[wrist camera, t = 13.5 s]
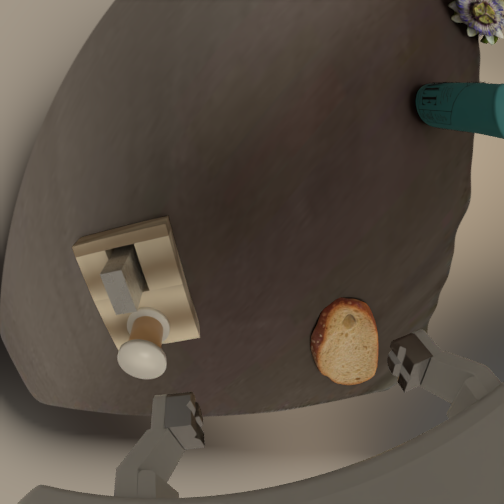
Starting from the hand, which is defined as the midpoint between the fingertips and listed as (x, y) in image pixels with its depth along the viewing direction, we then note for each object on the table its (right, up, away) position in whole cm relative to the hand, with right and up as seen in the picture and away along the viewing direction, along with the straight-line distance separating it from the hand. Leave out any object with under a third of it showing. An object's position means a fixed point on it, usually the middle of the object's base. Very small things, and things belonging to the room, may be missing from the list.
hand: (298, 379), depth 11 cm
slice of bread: (+15, -11, +37) cm, 42 cm away
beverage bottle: (+22, +25, +22) cm, 40 cm away
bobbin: (-15, -4, +25) cm, 30 cm away
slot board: (-16, +1, +26) cm, 31 cm away
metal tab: (-17, +4, +25) cm, 30 cm away
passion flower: (+33, +44, +15) cm, 57 cm away
